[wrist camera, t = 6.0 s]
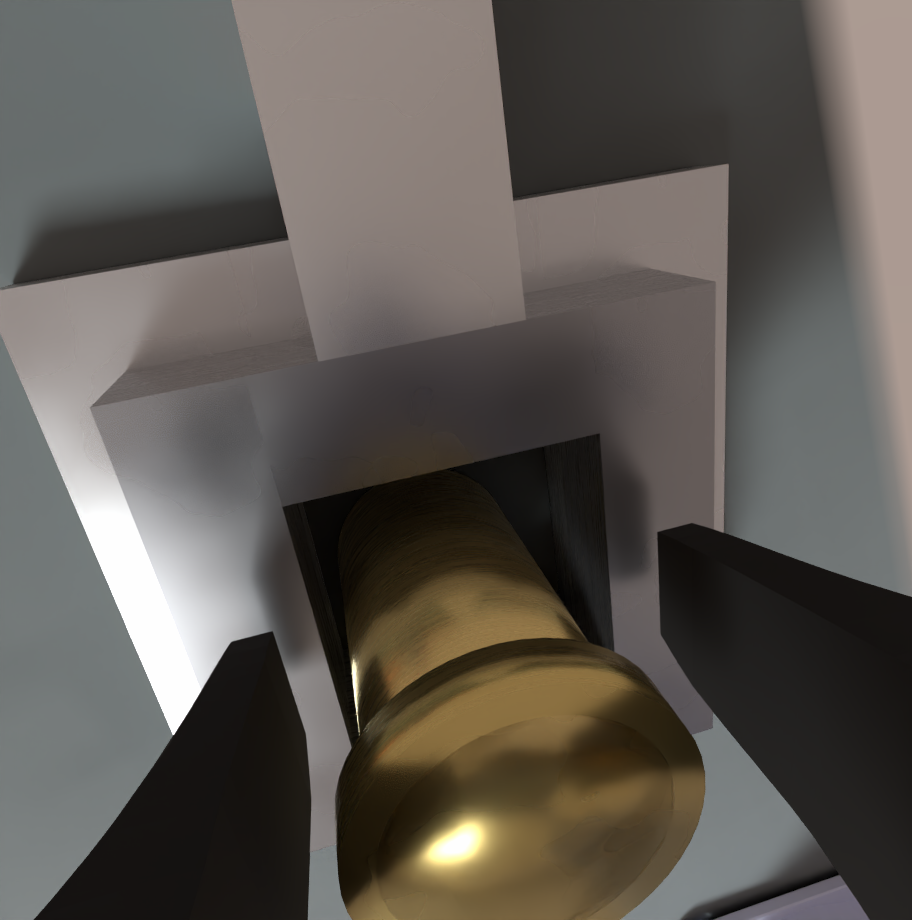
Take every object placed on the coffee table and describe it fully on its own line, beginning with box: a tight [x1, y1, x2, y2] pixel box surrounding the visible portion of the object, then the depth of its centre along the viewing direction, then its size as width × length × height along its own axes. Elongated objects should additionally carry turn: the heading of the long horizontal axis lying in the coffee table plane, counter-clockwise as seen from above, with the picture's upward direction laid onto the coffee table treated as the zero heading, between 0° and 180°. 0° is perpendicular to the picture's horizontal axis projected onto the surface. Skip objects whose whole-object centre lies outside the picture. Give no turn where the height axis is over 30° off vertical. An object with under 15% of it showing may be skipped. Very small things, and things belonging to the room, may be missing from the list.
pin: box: [334, 469, 705, 920], centre depth 11 cm, size 4×4×7 cm
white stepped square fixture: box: [0, 0, 729, 852], centre depth 10 cm, size 12×24×3 cm, turn 9°
